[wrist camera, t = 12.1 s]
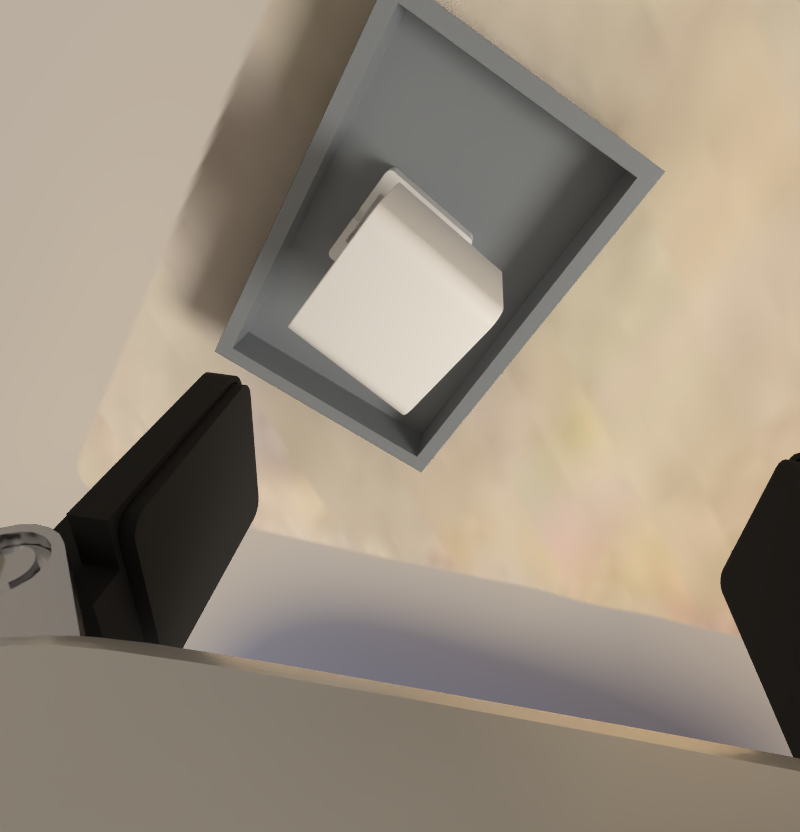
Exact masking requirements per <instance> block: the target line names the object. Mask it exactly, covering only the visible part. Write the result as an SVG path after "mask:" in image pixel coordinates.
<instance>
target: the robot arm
mask: <svg viewBox="0 0 800 832" xmlns="http://www.w3.org/2000/svg"><path fill="white" fill-rule="evenodd" d="M257 508H258V486H257V473H256V460H255V447H254V434H253V421H252V408H251V395H250V389H249V387H248V386H247V385H242V384H241V381H240V378H238V377H237V376H232V375H225V374H217V373H210V372H206V373H205V374H203V375H202V376H201V377H200V378H199V379H198V380H197V381H196V382H195V383H194V384H193V385H192V386H191V387H190V388H189V389H188V391H187V392H186V393H185V394H184V395H183V396H182V397H181V398H180V399H179V400H178V401H177V402H176V403H175V404H174V405H173V406H172V407H171V408H170V409H169V410H168V411H167V412H166V413H165V414H164V415H163V416H162V417H161V418H160V419H159V420H158V421H157V422H156V423H155V424H154V425H153V426H152V427H151V428H150V429H149V430H148V431H147V432H146V433H145V434H144V435H143V436H142V437H141V438H140V440H139V441H138V442H137V443H136V444H135V445H134V446H133V447H132V448H131V449H130V450H129V451H128V452H127V453H126V454H125V455H124V456H123V457H122V458H121V459H120V460H119V461H118V462H117V463H116V464H115V465H114V466H113V467H112V468H111V469H110V470H109V471H108V472H107V473H106V474H105V475H104V476H103V477H102V478H101V479H100V480H99V481H98V482H97V483H96V484H95V485H94V486H93V487H92V489H91V490H90V491H89V492H88V493H87V494H86V495H85V496H84V497H83V498H82V499H81V500H80V501H79V502H78V503H77V504H76V505H75V506H74V507H73V508H72V509H71V510H70V511H69V512H68V513H67V516H66V517H65V518H64V519H63V520H62V521H61V522H60V523H59V524H58V525H57V526H56V527H55V528H54V529H51V528H49V527H45V526H41V525H36V524H30V525H29V524H24V525H23V524H21V525H14V526H9V527H4V528H0V832H800V453H797V454H795V455H793V456H792V457H791V458H790V459H789V460H782V461H781V462H780V463H779V464H778V466H777V467H776V469H775V471H774V473H773V475H772V477H771V478H770V480H769V482H768V484H767V486H766V488H765V490H764V492H763V494H762V496H761V498H760V499H759V501H758V503H757V505H756V507H755V509H754V511H753V513H752V515H751V517H750V519H749V521H748V522H747V524H746V526H745V528H744V530H743V532H742V534H741V536H740V538H739V540H738V542H737V544H736V545H735V547H734V549H733V551H732V553H731V555H730V557H729V559H728V561H727V563H726V565H725V566H724V568H723V571H722V573H721V589H722V593H723V595H724V597H725V600H726V602H727V604H728V607H729V609H730V611H731V614H732V616H733V618H734V621H735V623H736V625H737V628H738V630H739V632H740V634H741V637H742V639H743V641H744V644H745V646H746V648H747V650H748V653H749V655H750V658H751V660H752V662H753V665H754V667H755V669H756V672H757V674H758V676H759V678H760V681H761V683H762V685H763V688H764V690H765V692H766V695H767V697H768V699H769V702H770V704H771V706H772V709H773V711H774V713H775V716H776V718H777V720H778V723H779V725H780V727H781V730H782V732H783V734H784V737H785V739H786V741H787V744H788V746H789V748H790V750H791V753H792V755H793V757H789V756H784V755H778V754H773V753H767V752H762V751H757V750H752V749H746V748H741V747H735V746H730V745H725V744H719V743H714V742H708V741H703V740H698V739H693V738H687V737H682V736H677V735H671V734H666V733H661V732H655V731H650V730H644V729H639V728H633V727H627V726H622V725H617V724H611V723H606V722H601V721H595V720H590V719H584V718H578V717H573V716H567V715H562V714H556V713H551V712H546V711H540V710H535V709H529V708H524V707H517V706H512V705H507V704H501V703H496V702H490V701H485V700H479V699H474V698H468V697H462V696H457V695H451V694H446V693H440V692H434V691H429V690H423V689H418V688H412V687H407V686H401V685H395V684H390V683H384V682H378V681H372V680H367V679H361V678H355V677H350V676H344V675H338V674H332V673H327V672H321V671H316V670H310V669H304V668H298V667H292V666H287V665H281V664H276V663H270V662H264V661H259V660H252V659H246V658H240V657H234V656H227V655H221V654H214V653H209V652H202V651H196V650H190V649H183V647H184V645H185V643H186V641H187V639H188V637H189V636H190V634H191V632H192V630H193V628H194V626H195V624H196V623H197V621H198V619H199V617H200V615H201V614H202V612H203V610H204V608H205V606H206V605H207V603H208V601H209V599H210V597H211V596H212V594H213V592H214V590H215V588H216V586H217V585H218V583H219V581H220V579H221V577H222V576H223V574H224V572H225V570H226V568H227V566H228V565H229V563H230V561H231V559H232V557H233V556H234V554H235V552H236V550H237V548H238V546H239V544H240V543H241V541H242V539H243V537H244V535H245V534H246V532H247V530H248V528H249V526H250V525H251V523H252V521H253V519H254V517H255V515H256V512H257Z"/></svg>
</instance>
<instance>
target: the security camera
mask: <svg viewBox="0 0 800 832" xmlns="http://www.w3.org/2000/svg"><path fill="white" fill-rule="evenodd" d="M472 239H473V235H472V234H471V232H469V231H468V230H467V229H466V228H465V227H464V226H463V225H461V224H460V223H459V222H458V221H457V220H456V219H455V218H454V217H452V216H451V215H450V214H449V213H448V212H447V211H446V210H444V209H443V208H442V207H441V206H440V205H439V204H438V203H436V202H435V201H434V200H433V199H432V198H431V197H430V196H429V195H427V194H426V193H425V192H424V191H423V190H422V189H421V188H419V187H418V186H417V185H416V184H415V183H414V182H413V181H411V180H410V179H409V178H408V177H407V176H406V175H405V174H403V173H402V172H401V171H400V170H399V169H398V168H396V167H392V168H390V169H389V170H388V171H387V172H386V173H385V174H384V176H383V177H382V178H381V180H380V181H379V183H378V184H377V185H376V187H375V188H374V189H373V191H372V192H371V194H370V195H369V196H368V198H367V199H366V201H365V202H364V203H363V205H362V206H361V208H360V210H359V211H358V212H357V214H356V215H355V217H353V219H352V220H351V222H350V223H349V224H348V226H347V227H346V228H345V230H344V231H343V233H342V234H341V235H340V237H339V238H338V240H337V241H336V242H335V244H334V245H333V247H332V248H331V249H330V251H329V256H330V258H331V259H332V260H334V261H335V262H334V263H333V265H332V266H331V267H330V269H329V270H328V272H327V273H326V274H325V276H324V277H323V278H322V280H321V281H320V282H319V284H318V285H317V287H316V288H315V289H314V291H313V292H312V293H311V295H310V296H309V298H308V299H307V300H306V302H305V303H304V304H303V306H302V307H301V308H300V310H299V311H298V313H297V314H296V315H295V317H294V318H293V319H292V321H291V322H290V324H289V325H288V328H289V329H291V330H292V331H293V332H295V333H296V334H297V335H299V336H300V337H301V338H303V339H304V340H305V341H307V342H308V343H309V344H310V345H312V346H313V347H314V348H316V349H317V350H318V351H320V352H321V353H322V354H324V355H325V356H326V357H328V358H329V359H330V360H331V361H333V362H334V363H335V364H337V365H338V366H339V367H341V368H342V369H343V370H345V371H346V372H347V373H349V374H350V375H351V376H352V377H354V378H355V379H356V380H358V381H359V382H360V383H362V384H363V385H364V386H366V387H367V388H368V389H370V390H371V391H372V392H374V393H375V394H376V395H377V396H379V397H380V398H381V399H383V400H384V401H385V402H387V403H388V404H389V405H391V406H392V407H393V408H395V409H396V410H397V411H398V412H400V413H401V414H402V415H405V414H407V413H408V412H409V411H411V410H412V409H413V408H414V407H415V406H416V405H417V404H418V402H419V401H420V400H421V399H422V398H423V397H424V396H425V395H426V394H427V393H428V392H429V391H430V390H431V389H432V388H433V387H434V386H435V385H436V384H437V383H438V382H439V381H440V380H441V379H442V378H443V377H444V376H445V375H446V374H447V373H448V372H449V371H450V370H451V369H452V368H453V366H454V365H455V364H456V363H457V362H458V361H459V360H460V359H461V358H462V357H463V356H464V355H465V354H466V353H467V352H468V351H469V350H470V349H471V348H472V347H473V346H474V345H475V344H476V343H477V342H478V341H479V340H480V339H481V338H482V337H483V336H484V335H485V334H486V333H487V332H488V330H489V329H490V328H491V327H492V326H493V325H494V324H495V323H496V321H497V320H498V318H499V317H500V315H501V313H502V311H503V284H502V271H501V270H499V269H498V268H497V267H496V266H495V265H494V264H493V263H491V262H490V261H489V260H488V259H487V258H486V257H485V256H483V255H482V254H481V253H480V252H479V251H478V250H477V249H475V248H474V247H473V246H472Z"/></svg>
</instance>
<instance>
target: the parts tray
mask: <svg viewBox="0 0 800 832" xmlns="http://www.w3.org/2000/svg"><path fill="white" fill-rule="evenodd" d="M392 167H396V168H398V169H399V170H400V171H401V172H402V173H403V174H405V175H406V176H407V177H408V178H409V179H410V180H411V181H413V182H414V183H415V184H416V185H417V186H418V187H419V188H421V189H422V190H423V191H424V192H425V193H426V194H427V195H429V196H430V197H431V198H432V199H433V200H434V201H435V202H436V203H438V204H439V205H440V206H441V207H442V208H443V209H444V210H446V211H447V212H448V213H449V214H450V215H451V216H452V217H454V218H455V219H456V220H457V221H458V222H459V223H460V224H461V225H463V226H464V227H465V228H466V229H467V230H468V231H469V232H471V234H472V235H473V239H472V246H473V247H474V248H475V249H477V250H478V251H479V252H480V253H481V254H482V255H483V256H485V257H486V258H487V259H488V260H489V261H490V262H491V263H493V264H494V265H495V266H496V267H497V268H498V269H499V270H501V271H502V284H503V311H502V313H501V315H500V317H499V318H498V320H497V321H496V323H495V324H494V325H493V326H492V327H491V328H490V329H489V330H488V332H487V333H486V334H485V335H484V336H483V337H482V338H481V339H480V340H479V341H478V342H477V343H476V344H475V345H474V346H473V347H472V348H471V349H470V350H469V351H468V352H467V353H466V354H465V355H464V356H463V357H462V358H461V359H460V360H459V361H458V362H457V363H456V364H455V365H454V366H453V368H452V369H451V370H450V371H449V372H448V373H447V374H446V375H445V376H444V377H443V378H442V379H441V380H440V381H439V382H438V383H437V384H436V385H435V386H434V387H433V388H432V389H431V390H430V391H429V392H428V393H427V394H426V395H425V396H424V397H423V398H422V399H421V400H420V401H419V402H418V404H417V405H416V406H415V407H414V408H413V409H412V410H411V411H409V412H408V413H407V414H405V415H402V414H401V413H400V412H398V411H397V410H396V409H395V408H393V407H392V406H391V405H389V404H388V403H387V402H385V401H384V400H383V399H381V398H380V397H379V396H377V395H376V394H375V393H374V392H372V391H371V390H370V389H368V388H367V387H366V386H364V385H363V384H362V383H360V382H359V381H358V380H356V379H355V378H354V377H352V376H351V375H350V374H349V373H347V372H346V371H345V370H343V369H342V368H341V367H339V366H338V365H337V364H335V363H334V362H333V361H331V360H330V359H329V358H328V357H326V356H325V355H324V354H322V353H321V352H320V351H318V350H317V349H316V348H314V347H313V346H312V345H310V344H309V343H308V342H307V341H305V340H304V339H303V338H301V337H300V336H299V335H297V334H296V333H295V332H293V331H292V330H291V329H289V328H288V325H289V324H290V322H291V321H292V319H293V318H294V317H295V315H296V314H297V313H298V311H299V310H300V308H301V307H302V306H303V304H304V303H305V302H306V300H307V299H308V298H309V296H310V295H311V293H312V292H313V291H314V289H315V288H316V287H317V285H318V284H319V282H320V281H321V280H322V278H323V277H324V276H325V274H326V273H327V272H328V270H329V269H330V267H331V266H332V265H333V263H334V262H335V261H334V260H332V259H331V258H330V256H329V251H330V249H331V248H332V247H333V245H334V244H335V242H336V241H337V240H338V238H339V237H340V235H341V234H342V233H343V231H344V230H345V228H346V227H347V226H348V224H349V223H350V222H351V220H352V219H353V217H355V215H356V214H357V212H358V211H359V210H360V208H361V206H362V205H363V203H364V202H365V201H366V199H367V198H368V196H369V195H370V194H371V192H372V191H373V189H374V188H375V187H376V185H377V184H378V183H379V181H380V180H381V178H382V177H383V176H384V174H385V173H386V172H387V171H388V170H389V169H390V168H392ZM664 172H665V171H664V170H662V169H661V168H659V167H658V166H657V165H655V164H654V163H653V162H651V161H650V160H649V159H647V158H646V157H645V156H643V155H642V154H641V153H639V152H638V151H637V150H635V149H634V148H633V147H631V146H630V145H628V144H627V143H626V142H624V141H623V140H622V139H620V138H619V137H618V136H616V135H615V134H614V133H612V132H611V131H610V130H608V129H607V128H606V127H604V126H603V125H601V124H600V123H599V122H597V121H596V120H595V119H593V118H592V117H591V116H589V115H588V114H587V113H585V112H584V111H583V110H581V109H580V108H579V107H577V106H576V105H575V104H573V103H572V102H570V101H569V100H568V99H566V98H565V97H564V96H562V95H561V94H560V93H558V92H557V91H556V90H554V89H553V88H552V87H550V86H549V85H548V84H546V83H545V82H544V81H542V80H541V79H539V78H538V77H537V76H535V75H534V74H533V73H531V72H530V71H529V70H527V69H526V68H525V67H523V66H522V65H521V64H519V63H518V62H517V61H515V60H514V59H512V58H511V57H510V56H508V55H507V54H506V53H504V52H503V51H502V50H500V49H499V48H498V47H496V46H495V45H494V44H492V43H491V42H490V41H488V40H487V39H486V38H484V37H483V36H481V35H480V34H479V33H477V32H476V31H475V30H473V29H472V28H471V27H469V26H468V25H467V24H465V23H464V22H463V21H461V20H460V19H459V18H457V17H456V16H454V15H453V14H452V13H450V12H449V11H448V10H446V9H445V8H444V7H442V6H441V5H440V4H438V3H437V2H436V1H434V0H377V1H376V3H375V5H374V8H373V10H372V12H371V14H370V16H369V18H368V21H367V23H366V25H365V27H364V29H363V31H362V34H361V36H360V38H359V40H358V42H357V44H356V47H355V49H354V51H353V53H352V55H351V57H350V60H349V62H348V64H347V66H346V68H345V70H344V73H343V75H342V77H341V79H340V81H339V83H338V86H337V88H336V90H335V92H334V94H333V96H332V99H331V101H330V103H329V105H328V107H327V109H326V112H325V114H324V116H323V118H322V120H321V122H320V125H319V127H318V129H317V131H316V133H315V135H314V138H313V140H312V142H311V144H310V146H309V148H308V151H307V153H306V155H305V157H304V159H303V161H302V164H301V166H300V168H299V170H298V172H297V174H296V177H295V179H294V181H293V183H292V185H291V187H290V190H289V192H288V194H287V196H286V198H285V200H284V203H283V205H282V207H281V209H280V211H279V213H278V216H277V218H276V220H275V222H274V224H273V226H272V229H271V231H270V233H269V235H268V237H267V239H266V241H265V244H264V246H263V248H262V250H261V252H260V254H259V257H258V259H257V261H256V263H255V265H254V267H253V270H252V272H251V274H250V276H249V278H248V280H247V283H246V285H245V287H244V289H243V291H242V293H241V296H240V298H239V300H238V302H237V304H236V306H235V309H234V311H233V313H232V315H231V317H230V319H229V322H228V324H227V326H226V328H225V330H224V332H223V335H222V337H221V339H220V341H219V343H218V345H217V348H216V350H215V352H217V353H218V354H220V355H222V356H223V357H225V358H227V359H228V360H230V361H232V362H234V363H235V364H237V365H239V366H240V367H242V368H244V369H246V370H247V371H249V372H251V373H252V374H254V375H256V376H258V377H259V378H261V379H263V380H264V381H266V382H268V383H269V384H271V385H273V386H275V387H276V388H278V389H280V390H281V391H283V392H285V393H287V394H288V395H290V396H292V397H293V398H295V399H297V400H299V401H300V402H302V403H304V404H305V405H307V406H309V407H310V408H312V409H314V410H316V411H317V412H319V413H321V414H322V415H324V416H326V417H328V418H329V419H331V420H333V421H334V422H336V423H338V424H340V425H341V426H343V427H345V428H346V429H348V430H350V431H351V432H353V433H355V434H357V435H358V436H360V437H362V438H363V439H365V440H367V441H369V442H370V443H372V444H374V445H375V446H377V447H379V448H381V449H382V450H384V451H386V452H387V453H389V454H391V455H393V456H394V457H396V458H398V459H399V460H401V461H403V462H404V463H406V464H408V465H410V466H411V467H413V468H415V469H416V470H418V471H420V472H422V471H423V469H424V468H425V467H426V466H427V465H428V463H429V462H430V461H431V460H432V458H433V457H434V456H435V455H436V453H437V452H438V451H439V450H440V448H441V447H442V446H443V445H444V444H445V442H446V441H447V440H448V439H449V437H450V436H451V435H452V434H453V432H454V431H455V430H456V429H457V428H458V426H459V425H460V424H461V423H462V421H463V420H464V419H465V418H466V416H467V415H468V414H469V413H470V412H471V410H472V409H473V408H474V407H475V405H476V404H477V403H478V402H479V400H480V399H481V398H482V397H483V395H484V394H485V393H486V392H487V391H488V389H489V388H490V387H491V386H492V384H493V383H494V382H495V381H496V379H497V378H498V377H499V376H500V375H501V373H502V372H503V371H504V370H505V368H506V367H507V366H508V365H509V363H510V362H511V361H512V360H513V359H514V357H515V356H516V355H517V354H518V352H519V351H520V350H521V349H522V347H523V346H524V345H525V344H526V342H527V341H528V340H529V339H530V338H531V336H532V335H533V334H534V333H535V331H536V330H537V329H538V328H539V326H540V325H541V324H542V323H543V322H544V320H545V319H546V318H547V317H548V315H549V314H550V313H551V312H552V310H553V309H554V308H555V307H556V306H557V304H558V303H559V302H560V301H561V299H562V298H563V297H564V296H565V294H566V293H567V292H568V291H569V289H570V288H571V287H572V286H573V285H574V283H575V282H576V281H577V280H578V278H579V277H580V276H581V275H582V273H583V272H584V271H585V270H586V269H587V267H588V266H589V265H590V264H591V262H592V261H593V260H594V259H595V257H596V256H597V255H598V254H599V253H600V251H601V250H602V249H603V248H604V246H605V245H606V244H607V243H608V241H609V240H610V239H611V238H612V236H613V235H614V234H615V233H616V232H617V230H618V229H619V228H620V227H621V225H622V224H623V223H624V222H625V220H626V219H627V218H628V217H629V216H630V214H631V213H632V212H633V211H634V209H635V208H636V207H637V206H638V204H639V203H640V202H641V201H642V200H643V198H644V197H645V196H646V195H647V193H648V192H649V191H650V190H651V188H652V187H653V186H654V185H655V183H656V182H657V181H658V180H659V179H660V177H661V176H662V175H663V174H664Z"/></svg>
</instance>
